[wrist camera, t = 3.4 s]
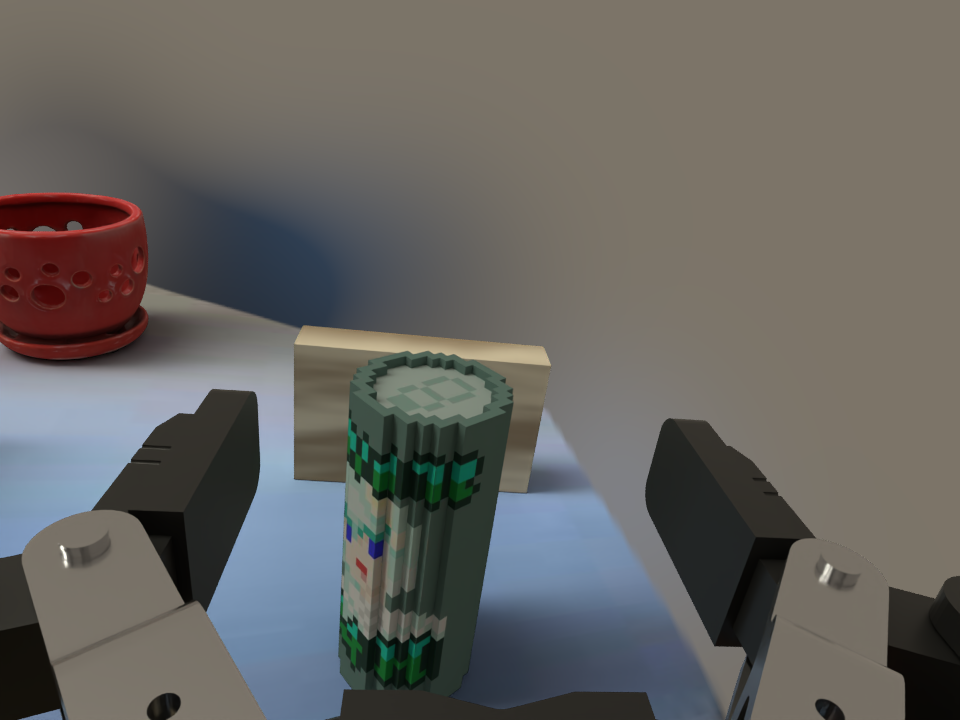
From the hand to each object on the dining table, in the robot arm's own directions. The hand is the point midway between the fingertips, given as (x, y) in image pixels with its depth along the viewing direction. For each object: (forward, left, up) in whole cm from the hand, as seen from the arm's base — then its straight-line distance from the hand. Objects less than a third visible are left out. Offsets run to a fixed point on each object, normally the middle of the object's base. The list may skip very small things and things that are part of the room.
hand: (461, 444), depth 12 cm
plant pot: (+43, +31, -20) cm, 57 cm away
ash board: (+26, 0, -19) cm, 33 cm away
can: (+11, 0, -20) cm, 23 cm away
